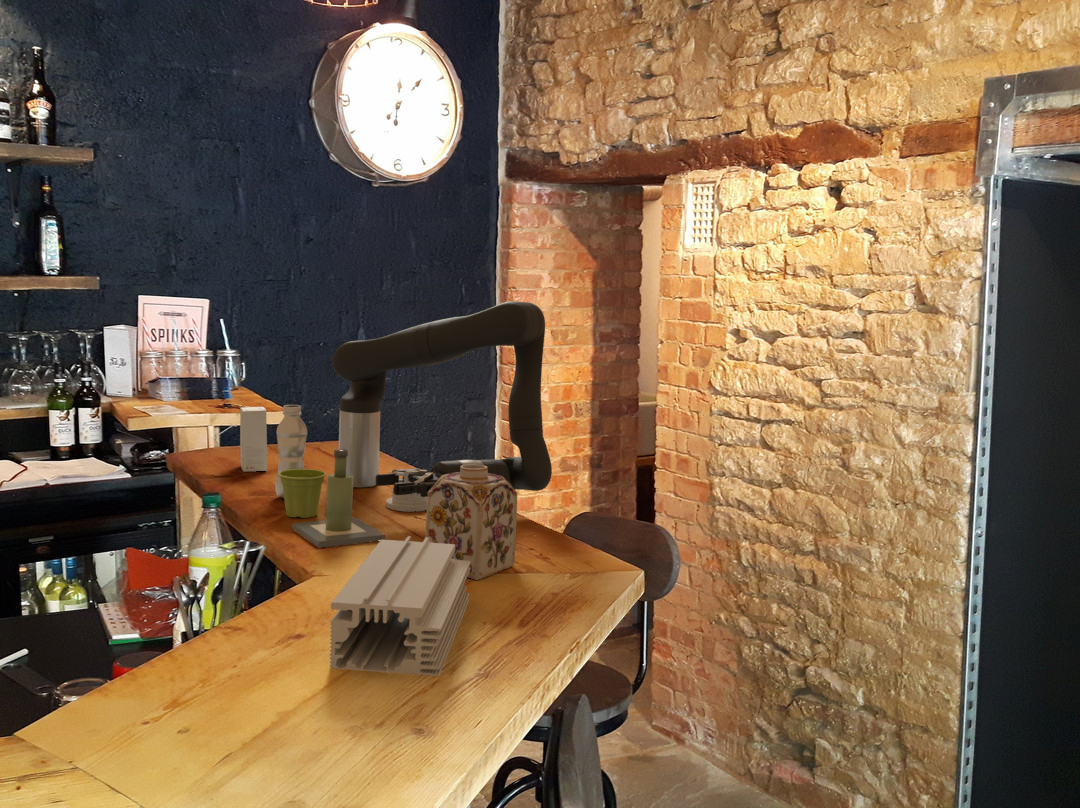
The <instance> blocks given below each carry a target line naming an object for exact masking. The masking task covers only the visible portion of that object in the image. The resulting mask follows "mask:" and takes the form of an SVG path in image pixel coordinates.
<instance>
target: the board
mask: <svg viewBox="0 0 1080 808" xmlns="http://www.w3.org/2000/svg"><path fill="white" fill-rule="evenodd" d="M291 523H292V522H291ZM292 529H293V530H292ZM291 530H292V531H294V530H295V531H296V532H297V533H296V532H295V531H294V532H295V533H296V534H298V533H299V534H300V535H299V534H298V535H299V536H301V535H302V536H303V537H302V536H301V537H302V538H304V537H305V538H306V539H307V540H306V539H305V538H304V539H305V540H306V541H308V540H309V541H310V543H311V544H312V543H313V544H312V545H314V546H315V547H316V546H317V548H318V549H323V548H322V547H325V548H331V546H334V547H340V546H339V545H343V546H349V545H348V544H352V545H356V544H355V543H361V544H364V543H363V542H370V541H378V540H386V534H385V533H383V532H382V531H380V530H378V529H377V528H375V527H373V526H372V525H369V524H368V523H366V522H364V521H363V520H361V519H359V518H358V517H356V516H354V517H353V516H352V526H351V530H348V531H342V532H336V531H329V530H327V529H326V519H323V520H314V521H303V522H294V523H292V524H291ZM309 541H308V542H309ZM370 543H371V542H370Z"/></svg>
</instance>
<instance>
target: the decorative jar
mask: <svg viewBox="0 0 1080 808" xmlns="http://www.w3.org/2000/svg"><path fill="white" fill-rule="evenodd" d="M517 514H518V492H517V491H516V490H515V489H514V488H513V487H512V486H511V484H510V483H509V482H508V481H506V480H505V478H504V477H502V476H499V475H494V474H490V473H488V467H487V466H484V465H478V464H467V465H462V466H461V467H460V472H456V473H450V474H445V475H442V476H441V477H440V478H439V480H438V481H437V482H436V483H435V484H434V486H433V487H432V488H431V489H430V490H429V491H428V501H427V510H426V518H425V537H424V539H425V538H426V537H428V538H429V541H430V542H431V543H443V544H455V552H454V554H453V556H452V558H451V559H455V560H456V559H457V560H465V561H471V563H470V566H469V567H470V568H471V569H470V571H469V574H468V576H467V577H468V578H471V579H470V580H473V579H474V580H473V581H480V580H482V579H485V578H487V576H488V577H490V576H492V575H491V574H493V575H495V574H494V573H496V572H498V571H500V572H502V571H501V570H503V569H506V568H508V567H510V568H512V567H513V566H514V564H515V558H516V556H515V555H516V545H517V543H516V541H517V522H518V521H517V517H518V515H517ZM511 566H512V567H511ZM508 569H509V568H508ZM506 570H507V569H506ZM503 571H504V570H503ZM498 573H499V572H498ZM496 574H497V573H496ZM489 575H490V576H489ZM484 577H485V578H484ZM468 578H467V579H468ZM479 579H480V580H479Z"/></svg>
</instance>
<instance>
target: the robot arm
mask: <svg viewBox="0 0 1080 808" xmlns="http://www.w3.org/2000/svg"><path fill="white" fill-rule="evenodd" d="M545 333H546V318H545V315H544V312H543V311H542V310H541V308H540V307H539V306H538V305H536V304H534V303H531V302H529V301H528V302H527V301H515V300H511V301H506V302H505V301H504V302H502V303H500V304H497V305H494V306H492V307H489V308H486V309H485V310H481V311H479V312H475V313H473V314H469V315H464V316H454V317H449V318H444V319H439V320H434V321H429V322H426V323H422V324H418V325H415V326H412V327H409V328H406V329H403V330H400V331H399V330H398V331H397V332H394V333H391V334H388V335H385V336H383V337H382V336H381V337H378V338H374V339H364V340H363V339H362V340H351V341H347V342H345V343H343V344H341V345H340V346H339V347H338V348H337V349H336V350H335V351H334V353H333V356H332V361H331V364H332V369H333V371H334V373H335V374H336V375H337V376H338V377H339V378H341V379H343V380H344V381H348V382H351V385H350V388H349V390H348V391H347V392H346V393H345V394H344V395H342V397H341V398H340V400H339V422H338V426H339V427H338V428H339V429H338V449H346V450H348V456H347V468H346V474H349V475H352V476H353V488H368V487H369V488H370V487H375V486H379V487H383V486H393V487H394V491H393V490H392V493H394V494H395V495H407V494H413V495H420V496H421V497H428V491H429V490H430V489H431V488H432V487H433V486H434V484H435V483H436V482H437V481H438V480H439V478H440V477H441V476H442V475H445V474H450V473H456V472H460V467H461V466H462V465H467V464H478V465H484V466H487V467H488V473H490V474H494V475H499V476H502V477H504V478H505V480H506V481H508V482H509V483H510V484H511V486H512V487H513V488H514V489H515V491H516V490H517V491H518V490H519V491H520V490H521V491H531V492H539V491H543V490H544V489H546V488H547V487H548V485H549V484H550V482H551V478H552V475H553V474H552V473H553V467H552V466H553V465H552V462H551V461H552V460H551V458H550V454H549V450H548V447H547V444H546V443H547V442H546V440H545V438H544V426H543V412H542V411H543V410H542V409H543V408H542V375H543V374H542V373H543V372H542V371H543V370H542V369H543V357H544V356H543V355H544V345H545ZM501 346H511V347H512V346H513V350H514V358H515V368H514V377H513V381H512V385H511V389H510V394H509V399H508V411H507V412H508V413H507V414H508V427H509V438H510V442H511V443H512V444H513V445H515V446H516V447H517V448H518V450H519V454H520V456H513V457H506V458H501V459H496V458H495V459H493V458H491V459H478V460H477V459H476V460H475V459H460V460H459V459H458V460H457V459H456V460H446V461H445V460H444V461H443V460H442V461H437V462H436V463H435V464H434V465H433V467H432V469H431V471H430V472H428V470H427V469H420V468H417V467H416V468H407V469H406V468H405V469H392V472H391V473H380V474H379V470H380V469H379V466H380V439H381V438H380V437H381V433H380V432H381V431H380V430H381V406H382V402H383V400H384V397H385V391H386V380H387V379H386V378H387V371H390V370H402V369H403V370H405V369H414V368H423V367H429V366H435V365H438V364H443V363H448V362H452V361H454V360H456V359H459V358H460V357H463V356H464V355H466V354H468V353H470V352H472V351H475V350H479V349H483V348H491V347H501ZM400 476H401V477H402V478H400Z"/></svg>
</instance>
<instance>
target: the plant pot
mask: <svg viewBox="0 0 1080 808" xmlns="http://www.w3.org/2000/svg"><path fill="white" fill-rule="evenodd" d="M278 476H279V477H280V479H281V483H282V485H283V493H284V498H283V500H284V507H285V515H286V517H290V518H292V517H294V518H295V519H296V518H297V517H298V518H301V519H308V518H313V517H316V516H317V515H318V511H319V505H320V496H321V491H322V485H323V483H324V480H325V477H326V476H327V472H326V471H324V470H320V469H319V470H318V469H313V468H312V469H311V468H304V469H291V470H284V471H281V472H279V473H278ZM294 518H293V519H294Z"/></svg>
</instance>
